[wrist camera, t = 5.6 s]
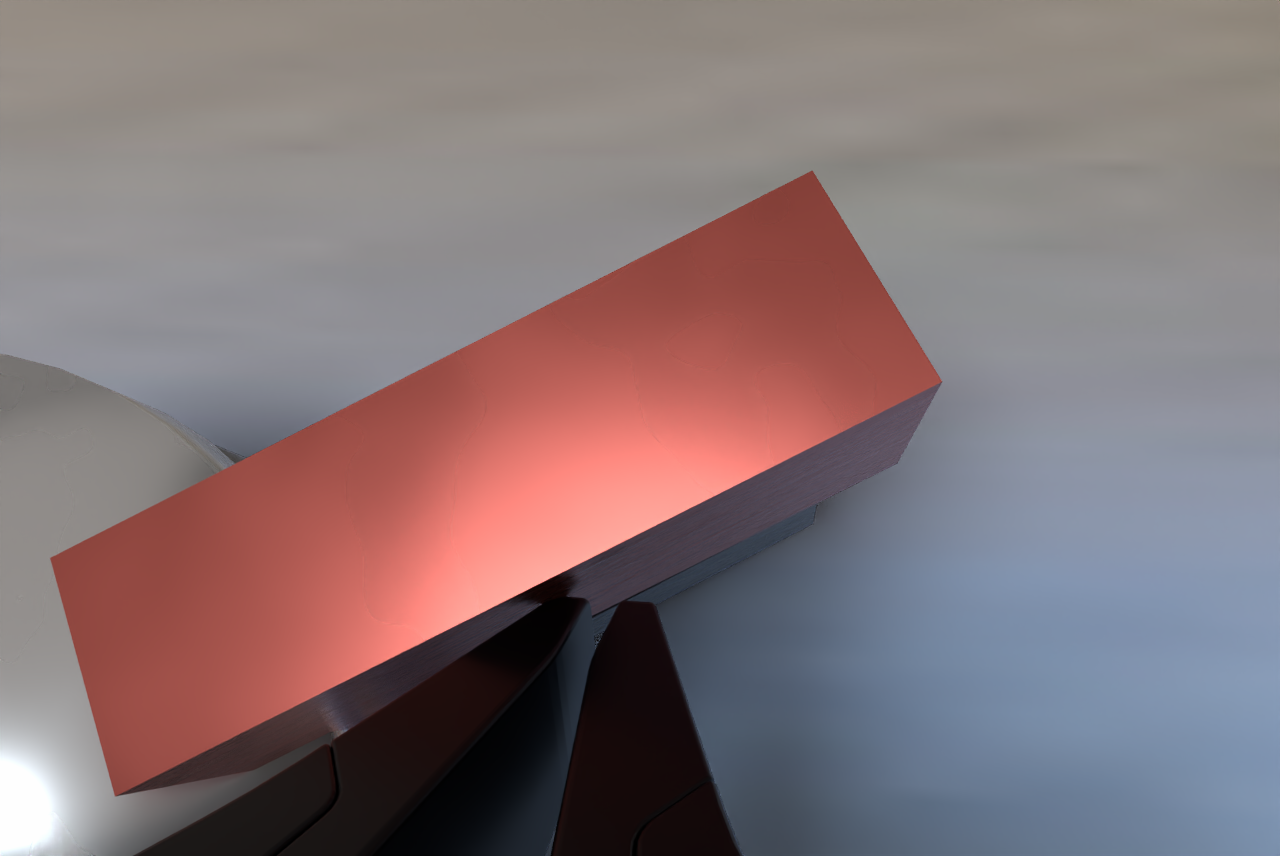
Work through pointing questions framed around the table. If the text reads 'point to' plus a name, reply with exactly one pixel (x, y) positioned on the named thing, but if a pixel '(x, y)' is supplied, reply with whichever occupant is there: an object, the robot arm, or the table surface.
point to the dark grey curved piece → (696, 571)
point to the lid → (412, 516)
